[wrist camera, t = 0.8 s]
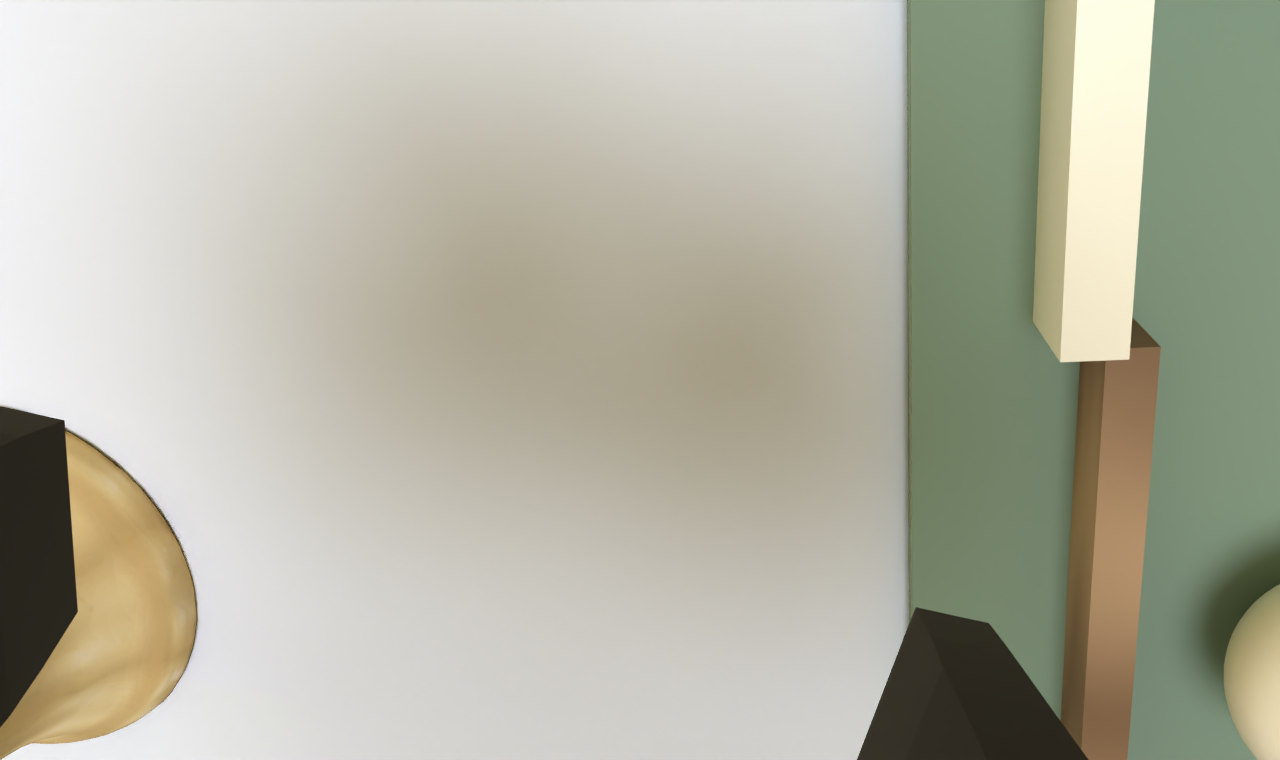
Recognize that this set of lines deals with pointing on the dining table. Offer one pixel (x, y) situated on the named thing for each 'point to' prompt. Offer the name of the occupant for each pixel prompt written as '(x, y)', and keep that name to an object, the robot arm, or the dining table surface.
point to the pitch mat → (1048, 389)
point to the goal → (1090, 174)
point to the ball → (1256, 676)
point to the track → (1108, 545)
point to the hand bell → (110, 614)
